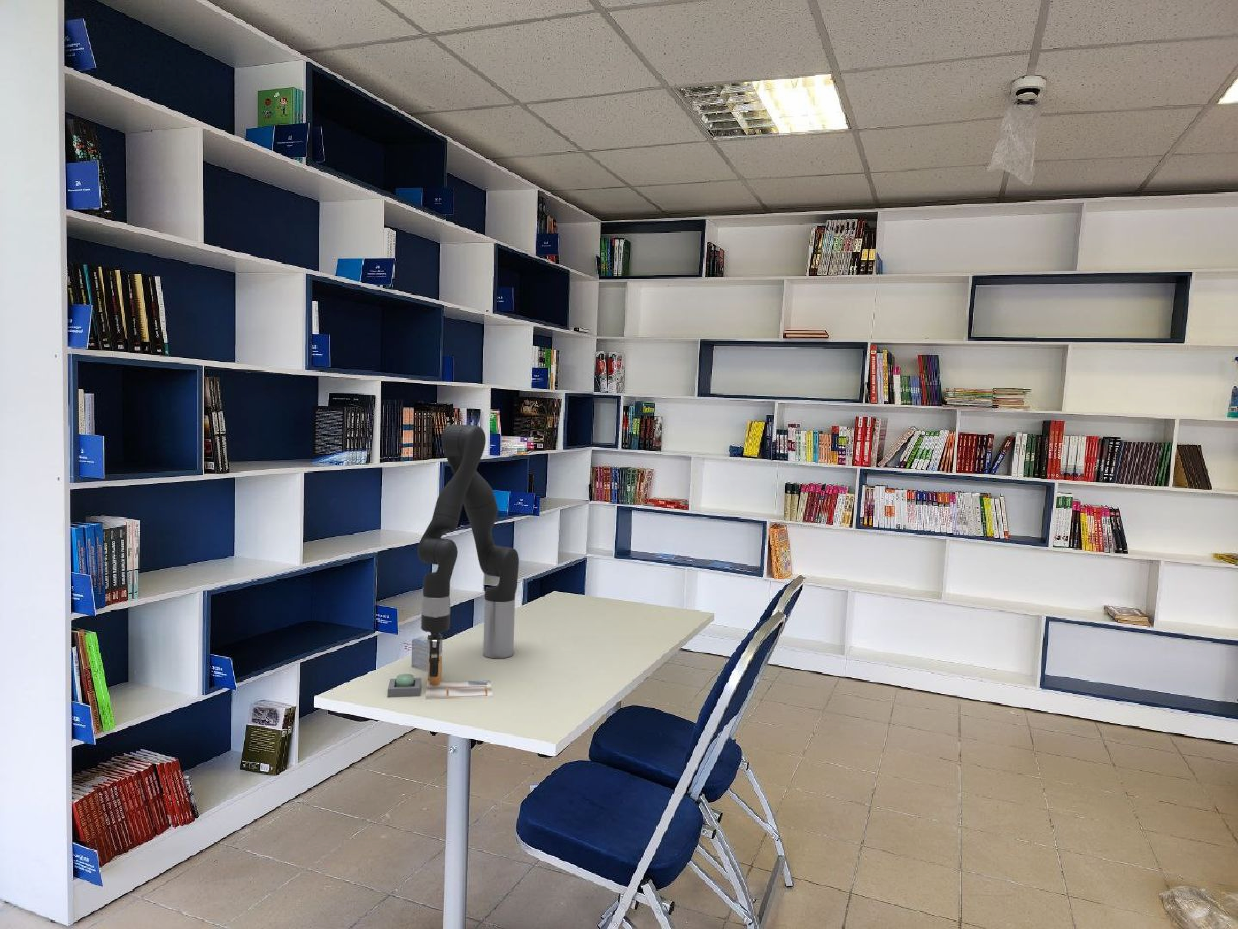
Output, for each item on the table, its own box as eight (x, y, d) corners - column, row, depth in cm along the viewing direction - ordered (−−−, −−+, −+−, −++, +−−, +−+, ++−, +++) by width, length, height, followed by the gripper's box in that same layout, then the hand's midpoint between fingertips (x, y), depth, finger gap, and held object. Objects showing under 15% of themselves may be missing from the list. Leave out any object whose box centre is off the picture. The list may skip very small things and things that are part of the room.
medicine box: (442, 669, 230) (443, 640, 229) (431, 673, 226) (432, 643, 225) (422, 664, 234) (422, 635, 233) (410, 668, 230) (411, 638, 229)
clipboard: (423, 683, 218) (423, 681, 218) (493, 680, 222) (494, 679, 222) (421, 701, 204) (421, 700, 204) (496, 699, 208) (496, 697, 208)
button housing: (390, 688, 213) (390, 678, 213) (421, 687, 215) (421, 677, 215) (387, 698, 205) (387, 689, 205) (419, 697, 207) (420, 688, 207)
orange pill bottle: (427, 681, 218) (428, 649, 217) (441, 681, 219) (442, 648, 218) (427, 686, 214) (428, 653, 214) (441, 685, 215) (442, 653, 215)
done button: (396, 683, 212) (396, 674, 212) (413, 683, 213) (414, 673, 213) (395, 689, 208) (395, 680, 207) (413, 688, 208) (413, 679, 208)
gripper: (422, 605, 221) (420, 663, 222) (420, 618, 207) (418, 680, 208) (450, 605, 223) (448, 663, 224) (450, 618, 209) (448, 679, 210)
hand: (434, 671), depth 216 cm, fingers open, 8 cm apart
